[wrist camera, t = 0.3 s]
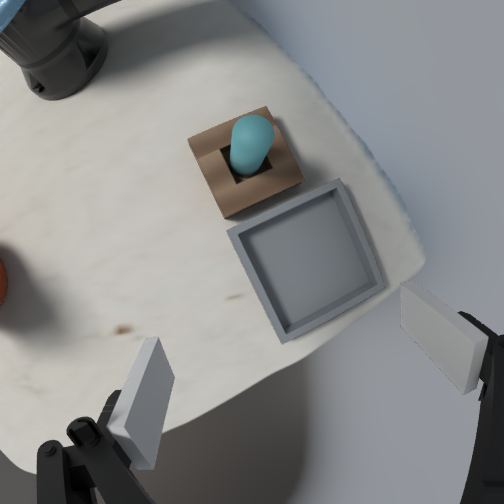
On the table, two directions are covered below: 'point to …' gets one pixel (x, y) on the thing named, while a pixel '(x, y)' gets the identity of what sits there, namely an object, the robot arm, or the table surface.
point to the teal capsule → (250, 144)
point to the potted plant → (2, 282)
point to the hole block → (237, 188)
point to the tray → (307, 259)
